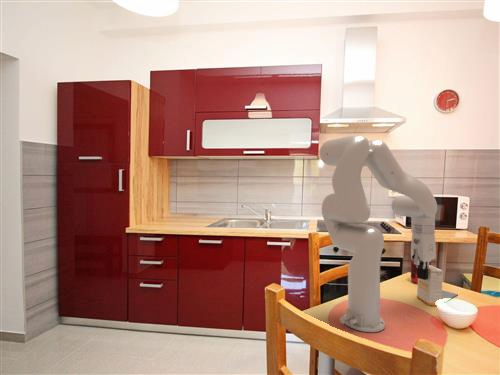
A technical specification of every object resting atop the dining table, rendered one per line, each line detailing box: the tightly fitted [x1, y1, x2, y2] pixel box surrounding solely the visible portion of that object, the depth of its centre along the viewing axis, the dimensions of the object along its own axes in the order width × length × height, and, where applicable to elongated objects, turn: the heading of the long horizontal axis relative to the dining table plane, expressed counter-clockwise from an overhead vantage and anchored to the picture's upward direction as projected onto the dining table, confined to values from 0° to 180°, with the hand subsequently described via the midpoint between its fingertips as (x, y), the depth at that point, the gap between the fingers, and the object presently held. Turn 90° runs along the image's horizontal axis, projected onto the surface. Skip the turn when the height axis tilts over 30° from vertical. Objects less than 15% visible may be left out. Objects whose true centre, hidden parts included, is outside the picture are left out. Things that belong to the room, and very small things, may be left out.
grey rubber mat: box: [441, 289, 459, 299], centre depth 119 cm, size 12×8×1 cm, turn 126°
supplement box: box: [416, 264, 444, 306], centre depth 113 cm, size 8×5×13 cm, turn 179°
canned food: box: [410, 257, 432, 285], centre depth 135 cm, size 8×8×11 cm
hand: (422, 278), depth 110 cm, fingers closed
